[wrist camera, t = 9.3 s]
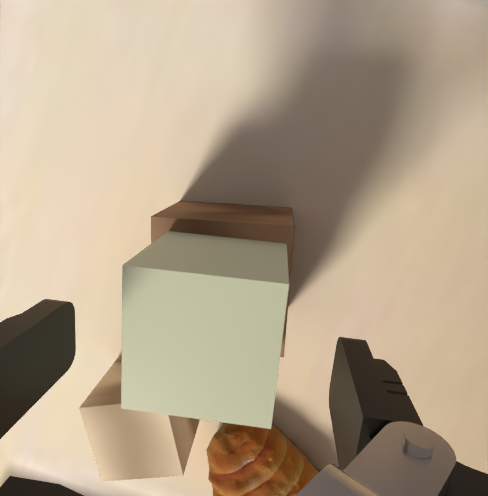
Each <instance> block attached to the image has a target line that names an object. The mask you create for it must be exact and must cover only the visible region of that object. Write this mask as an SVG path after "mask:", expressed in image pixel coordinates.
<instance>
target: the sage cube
mask: <svg viewBox="0 0 488 496" xmlns="http://www.w3.org/2000/svg"><path fill="white" fill-rule="evenodd" d="M288 289H289V274H288V258H287V244H285V243H276V242H267V241H257V240H248V239H238V238H229V237H220V236H210V235H201V234H192V233H182V232H173V231H168V232H166V233H165V234H164V235H162V236H161V237H160V238H158V239H157V240H156V241H154V242H153V243H152V244H150V245H149V246H148V247H146V248H145V249H144V250H142V251H141V252H140V253H138V254H137V255H136V256H134V257H133V258H132V259H130V260H129V261H128V262H126V263H125V264H124V265H123V274H122V378H121V408H122V409H129V410H136V411H143V412H151V413H158V414H165V415H172V416H180V417H187V418H194V419H201V420H209V421H216V422H223V423H231V424H238V425H245V426H252V427H260V428H267V429H271V426H272V418H273V410H274V402H275V394H276V386H277V378H278V370H279V362H280V354H281V346H282V338H283V329H284V321H285V313H286V305H287V297H288Z"/></svg>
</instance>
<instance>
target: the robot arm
mask: <svg viewBox="0 0 488 496" xmlns="http://www.w3.org/2000/svg"><path fill="white" fill-rule="evenodd" d="M75 349H76V346H75V310H74V306H73V304H72V303H71V302H66V301H58V300H50V299H44V300H42V301H41V302H39V303H38V304H36V305H34V306H33V307H31V308H30V309H28V310H26V311H25V312H23V313H21V314H19V315H16V316H13V317H10V318H7V319H5V320H4V321H2V322H0V439H1V438H2V437H3V436H4V435H5V434H6V433H7V432H8V431H9V429H10V428H11V427H12V426H13V425H14V424H15V423H16V422H17V421H18V420H19V419H20V418H21V417H22V416H23V415H24V414H25V413H26V412H27V411H28V410H29V409H30V408H31V407H32V406H33V405H34V404H35V403H36V402H37V401H38V400H39V399H40V398H41V397H42V396H43V395H44V394H45V393H46V392H47V391H48V390H49V389H50V388H51V387H52V386H53V385H54V384H55V383H56V382H57V381H58V380H59V379H60V378H61V377H62V376H63V375H64V374H65V373H66V372H67V371H68V369H69V368H70V366H71V365H72V362H73V360H74V356H75ZM329 408H330V414H331V420H332V426H333V432H334V438H335V445H336V451H337V457H338V463H339V468H338V467H336V466H335V465H333V464H329V465H327V466H325V467H324V468H323V469H322V470H321V471H320V472H319V473H318V474H317V475H316V476H315V477H314V478H313V479H312V480H311V481H310V482H309V483H308V484H307V485H306V486H305V487H304V488H303V489H302V490H301V491H300V492H299V493H298V494H297V495H295V496H488V474H486V473H483V472H480V471H478V470H475V469H472V468H470V467H467V466H465V465H463V464H461V463H459V462H457V461H456V456H455V453H454V451H453V449H452V448H451V446H450V445H449V444H448V443H447V442H446V440H444V439H443V438H442V437H441V436H440V435H438V434H437V433H435V432H434V431H432V430H430V429H428V428H426V427H424V426H423V424H422V422H421V420H420V418H419V416H418V414H417V412H416V410H415V408H414V406H413V404H412V402H411V400H410V398H409V396H407V391H406V389H405V387H404V385H402V381H401V379H400V377H399V375H398V373H397V371H396V370H395V369H394V368H392V367H391V366H390V365H389V364H388V363H387V362H386V361H385V360H381V359H373V356H372V354H371V351H370V349H369V347H368V344H367V342H366V340H359V339H352V338H344V337H339V338H338V341H337V346H336V352H335V358H334V364H333V370H332V376H331V382H330V390H329ZM0 496H83V495H81V494H79V493H77V492H75V491H73V490H71V489H69V488H66V487H64V486H62V485H60V484H55V483H49V482H43V481H37V480H31V479H25V478H19V477H13V476H10V477H9V478H8V479H7V480H6V481H5V482H4V484H3V485H2V486H1V487H0Z"/></svg>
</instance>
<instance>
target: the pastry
mask: <svg viewBox="0 0 488 496" xmlns="http://www.w3.org/2000/svg"><path fill="white" fill-rule="evenodd" d="M207 456H208V462H209V481H210V482H211V483H212V486H213V496H295V495H297V494H298V493H299V492H300V491H301V490H302V489H303V488H304V487H305V486H306V485H307V484H308V483H309V482H310V481H311V480H312V479H313V478H314V477H315V476H316V475H317V474H318V473H319V472H318V470H317V469H316V468H315V467H314V466H313V465H312V464H311V463H310V461H309V460H308V459H307V458H306V457H305V456H304V454H303V453H302V452H301V451H300V450H299V449H298V448H297V447H296V446H295V445H294V444H293V443H292V442H291V441H290V440H289V439H288V438H287V437H286V436H285V435H284V434H283V433H282V432H281V431H280V430H279V429H278V428H276V427H275V426H274V425H273V424H272V426H271V429H267V428H260V427H252V426H245V425H238V424H231V423H225V424H224V425H223V426H222V427H221V428H220V429H219V430H218V431H217V432H216V433H215V434H214V436H213V438H212V440H211V442H210V444H209V446H208V448H207Z"/></svg>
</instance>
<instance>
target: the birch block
mask: <svg viewBox="0 0 488 496" xmlns="http://www.w3.org/2000/svg"><path fill="white" fill-rule="evenodd" d="M121 378H122V361H119V362H114V364H113V365H112V366H111V368H110V369H109V370H108V371H107V373H106V374H105V375H104V377H103V378H102V379H101V380H100V382H99V383H98V384H97V386H96V387H95V388H94V390H93V391H92V392H91V393H90V395H89V396H88V397H87V399H86V400H85V401H84V402H83V404H82V405H81V406H80V408H79V409H80V412H81V415H82V419H83V422H84V425H85V428H86V432H87V435H88V438H89V442H90V445H91V448H92V451H93V455H94V458H95V461H96V464H97V468H98V471H99V474H100V478H101V481H113V480H127V479H141V478H155V477H169V476H183V474H184V471H185V467H186V464H187V461H188V457H189V454H190V451H191V447H192V444H193V441H194V437H195V434H196V430H197V427H198V424H199V420H200V419H194V418H187V417H180V416H172V415H165V414H158V413H151V412H143V411H136V410H129V409H122V408H121Z"/></svg>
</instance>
